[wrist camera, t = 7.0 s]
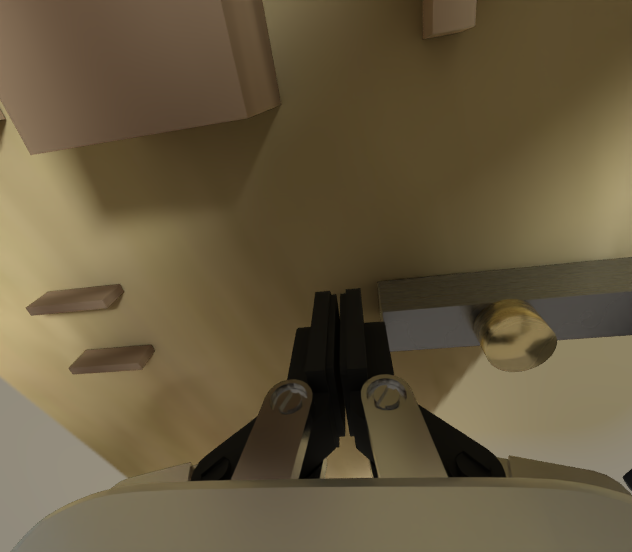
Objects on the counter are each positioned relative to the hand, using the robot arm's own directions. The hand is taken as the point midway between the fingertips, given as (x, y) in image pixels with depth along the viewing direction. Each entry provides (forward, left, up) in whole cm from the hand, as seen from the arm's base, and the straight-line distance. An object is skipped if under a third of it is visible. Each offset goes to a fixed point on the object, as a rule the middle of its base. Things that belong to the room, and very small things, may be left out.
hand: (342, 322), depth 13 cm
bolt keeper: (+11, 0, -2) cm, 11 cm away
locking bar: (-7, 0, -2) cm, 8 cm away
